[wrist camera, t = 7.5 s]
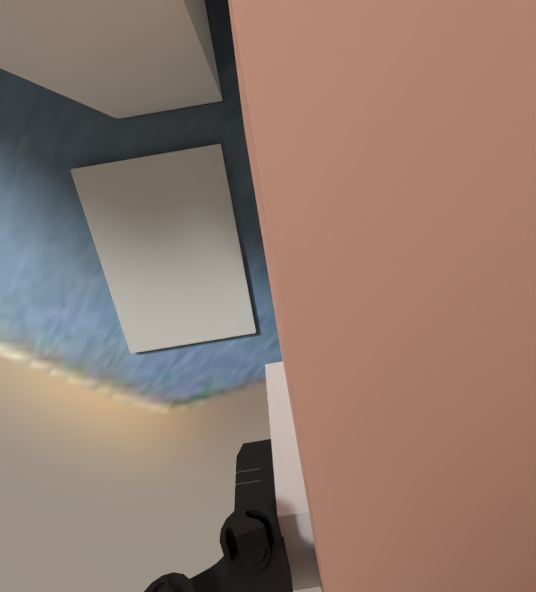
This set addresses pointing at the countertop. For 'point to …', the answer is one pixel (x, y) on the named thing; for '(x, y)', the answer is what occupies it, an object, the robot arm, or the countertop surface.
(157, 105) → the dispenser
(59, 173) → the countertop surface
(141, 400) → the countertop surface
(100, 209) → the mat
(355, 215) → the salmon pink slab
